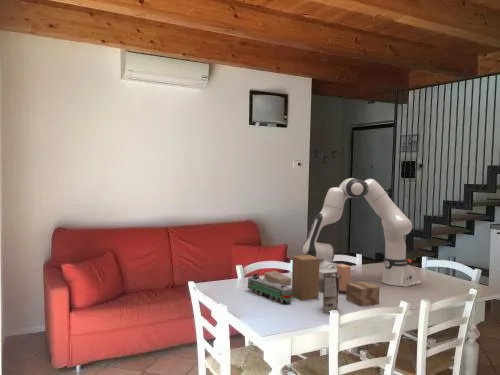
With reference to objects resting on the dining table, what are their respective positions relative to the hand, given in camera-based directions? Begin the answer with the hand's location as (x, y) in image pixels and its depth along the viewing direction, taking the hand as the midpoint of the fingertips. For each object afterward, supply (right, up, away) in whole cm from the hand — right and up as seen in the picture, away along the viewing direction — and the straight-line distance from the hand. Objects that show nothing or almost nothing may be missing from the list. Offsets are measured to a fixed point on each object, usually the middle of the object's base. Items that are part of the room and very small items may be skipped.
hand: (344, 276), depth 222 cm
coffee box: (-13, -10, -27) cm, 31 cm away
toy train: (-39, -9, -8) cm, 41 cm away
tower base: (+6, -9, -13) cm, 17 cm away
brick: (-33, -8, +20) cm, 39 cm away
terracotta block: (0, -7, +1) cm, 7 cm away
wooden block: (-21, -9, -7) cm, 24 cm away
